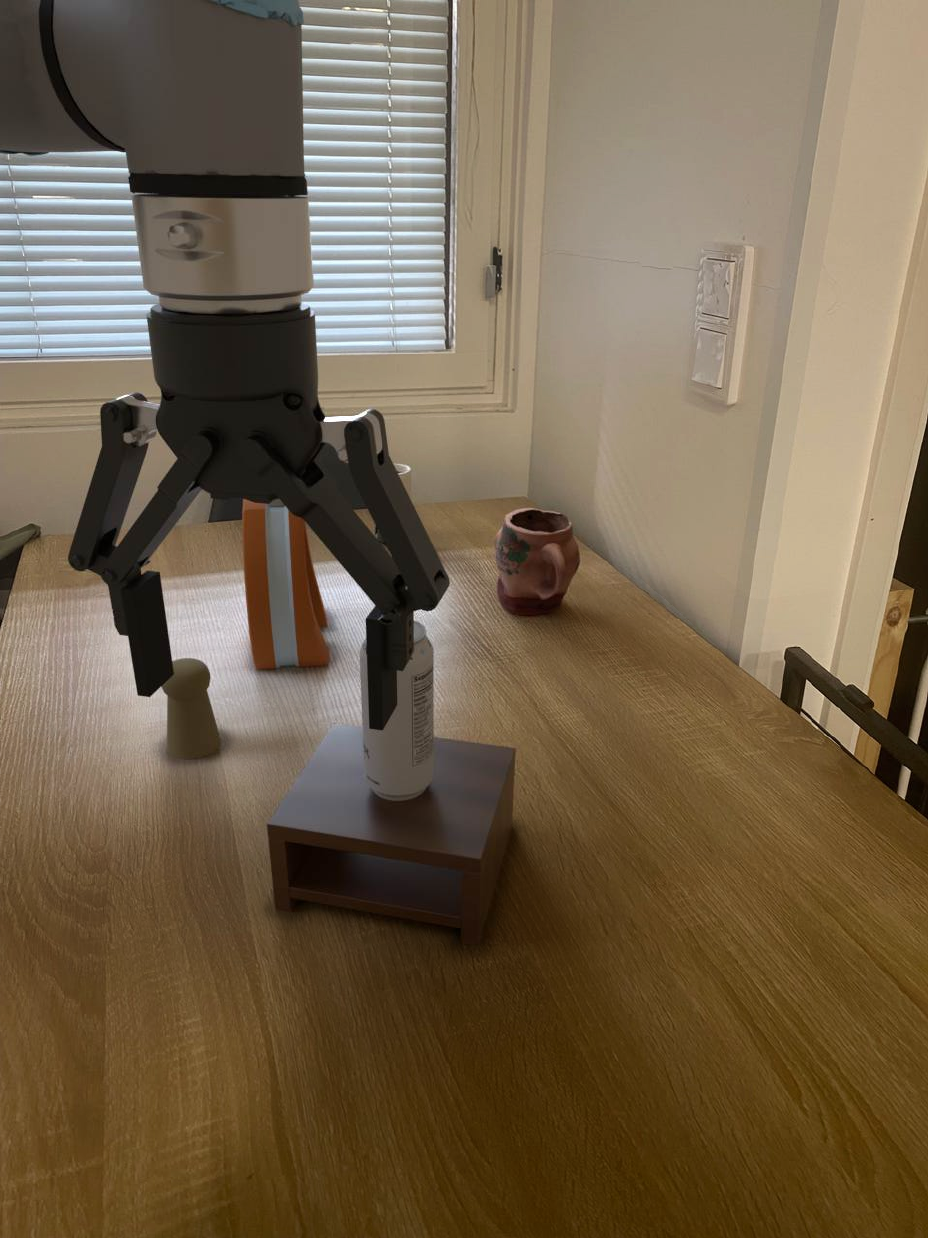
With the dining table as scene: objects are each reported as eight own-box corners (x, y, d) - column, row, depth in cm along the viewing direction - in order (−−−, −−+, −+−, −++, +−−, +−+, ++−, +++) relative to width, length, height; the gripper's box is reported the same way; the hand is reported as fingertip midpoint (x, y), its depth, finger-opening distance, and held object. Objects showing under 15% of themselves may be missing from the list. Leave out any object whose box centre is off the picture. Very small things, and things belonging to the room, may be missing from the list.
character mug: (361, 532, 165) (359, 463, 159) (397, 527, 168) (396, 458, 162) (386, 552, 156) (384, 479, 151) (423, 546, 159) (422, 474, 154)
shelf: (478, 954, 75) (480, 859, 71) (275, 916, 79) (266, 824, 75) (511, 833, 90) (515, 747, 85) (338, 805, 93) (334, 722, 89)
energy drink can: (379, 759, 83) (375, 610, 77) (442, 770, 82) (443, 620, 75) (354, 797, 78) (346, 642, 71) (420, 810, 76) (419, 653, 70)
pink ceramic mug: (603, 629, 131) (611, 538, 125) (526, 642, 127) (531, 549, 121) (541, 577, 148) (546, 495, 141) (472, 587, 143) (473, 503, 137)
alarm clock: (333, 681, 116) (323, 512, 106) (254, 686, 114) (237, 516, 105) (327, 608, 136) (319, 460, 126) (260, 612, 134) (246, 462, 124)
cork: (220, 732, 105) (210, 647, 100) (225, 761, 100) (214, 673, 95) (165, 740, 103) (153, 655, 98) (167, 770, 98) (154, 681, 93)
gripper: (-66, 296, 41) (26, 704, 50) (481, 325, 36) (470, 771, 45) (41, 280, 47) (104, 643, 56) (514, 302, 42) (499, 695, 52)
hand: (267, 701), depth 51 cm, fingers open, 13 cm apart
